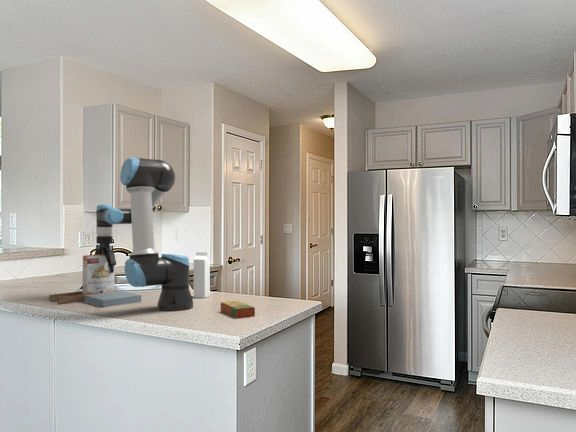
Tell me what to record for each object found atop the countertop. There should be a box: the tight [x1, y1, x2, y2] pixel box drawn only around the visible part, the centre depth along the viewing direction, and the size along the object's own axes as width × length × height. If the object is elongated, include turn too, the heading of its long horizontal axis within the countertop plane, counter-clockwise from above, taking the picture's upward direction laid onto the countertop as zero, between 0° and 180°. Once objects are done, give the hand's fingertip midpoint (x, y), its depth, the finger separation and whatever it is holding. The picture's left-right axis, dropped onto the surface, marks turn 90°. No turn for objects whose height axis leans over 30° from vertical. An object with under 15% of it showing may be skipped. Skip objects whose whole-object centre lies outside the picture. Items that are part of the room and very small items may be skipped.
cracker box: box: [81, 254, 116, 294], centre depth 231 cm, size 14×6×21 cm, turn 136°
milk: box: [193, 251, 211, 299], centre depth 230 cm, size 6×6×22 cm
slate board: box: [83, 290, 142, 308], centre depth 217 cm, size 20×18×3 cm
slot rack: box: [48, 290, 93, 305], centre depth 221 cm, size 11×16×3 cm
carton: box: [220, 300, 256, 319], centre depth 189 cm, size 8×16×4 cm, turn 31°
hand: (104, 278), depth 232 cm, fingers open, 13 cm apart
